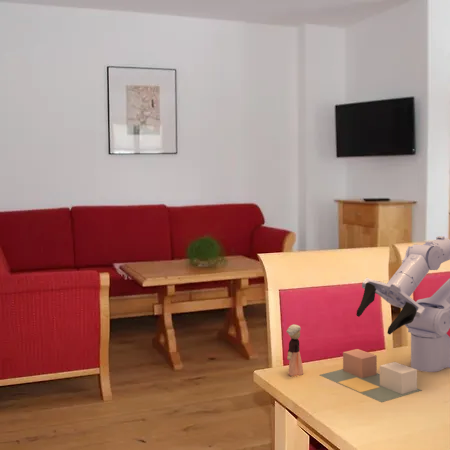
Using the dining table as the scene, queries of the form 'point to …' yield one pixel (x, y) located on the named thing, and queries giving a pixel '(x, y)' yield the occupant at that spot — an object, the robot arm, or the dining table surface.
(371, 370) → the terracotta brick
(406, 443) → the dining table surface
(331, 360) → the dining table surface
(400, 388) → the cream brick
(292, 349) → the grandmother figurine
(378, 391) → the baseplate
